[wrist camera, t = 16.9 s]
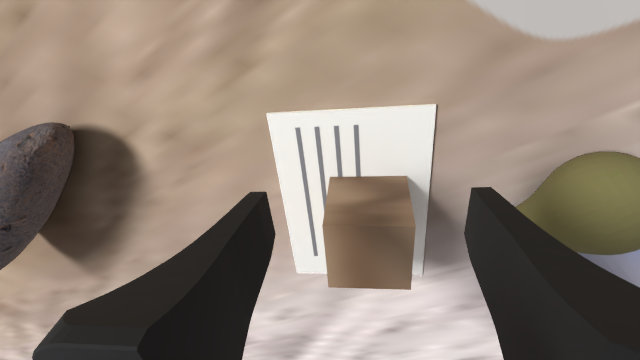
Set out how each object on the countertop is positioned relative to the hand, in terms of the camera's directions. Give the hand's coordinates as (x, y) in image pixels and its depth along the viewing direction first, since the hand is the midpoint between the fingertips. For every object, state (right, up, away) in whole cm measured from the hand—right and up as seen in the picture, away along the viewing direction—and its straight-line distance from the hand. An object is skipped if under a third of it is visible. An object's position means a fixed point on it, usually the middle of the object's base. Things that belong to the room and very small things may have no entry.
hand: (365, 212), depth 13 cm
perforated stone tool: (-22, +2, +14) cm, 26 cm away
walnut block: (+2, -1, +12) cm, 12 cm away
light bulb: (+9, -3, +12) cm, 15 cm away
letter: (+1, 0, +12) cm, 12 cm away
